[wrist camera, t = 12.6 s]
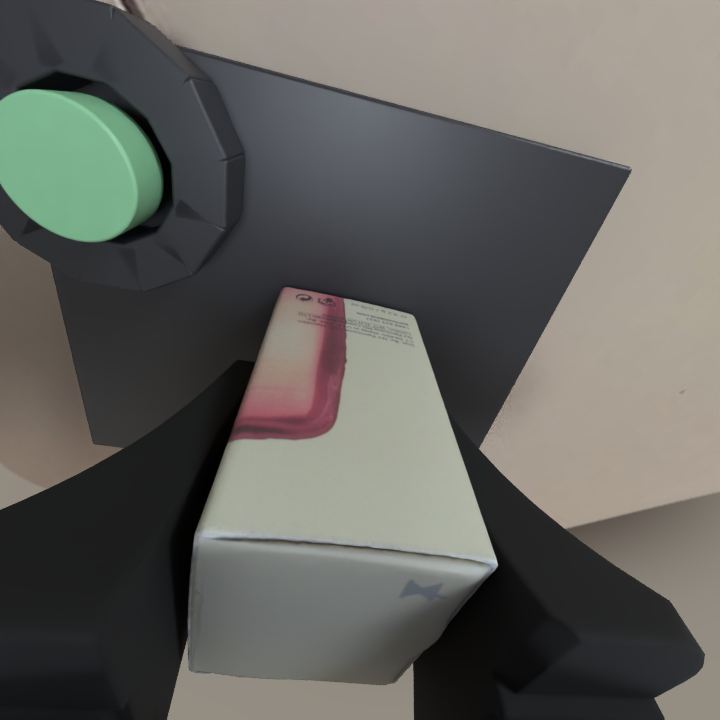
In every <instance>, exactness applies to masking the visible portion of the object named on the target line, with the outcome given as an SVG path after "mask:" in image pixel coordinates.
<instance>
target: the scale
mask: <svg viewBox="0 0 720 720" xmlns="http://www.w3.org/2000/svg"><path fill="white" fill-rule="evenodd" d="M26 89H42V90H54V91H67V92H79V93H86V94H91V95H94V96H98V97H101V98H103V99H105V100H107V101H109V102H111V103H113V104H114V105H116V106H118V107H119V108H120V109H122V110H123V111H125V112H126V113H127V114H128V115H129V116H130V117H131V118H133V119H134V120H135V121H136V122H137V124H138V125H139V126H140V127H141V128H142V129H143V131H144V132H145V133H146V135H147V136H148V137H149V139H150V141H151V142H152V144H153V146H154V148H155V150H156V152H157V154H158V157H159V160H160V162H161V166H162V170H163V178H164V190H163V196H162V199H161V203H160V205H159V207H158V209H157V210H156V212H155V213H154V214H153V215H152V216H151V217H150V218H149V219H148V220H146V221H145V222H143V223H142V224H140V225H138V226H136V227H134V228H132V229H130V230H128V231H127V232H125V233H123V234H121V235H119V236H117V237H115V238H113V239H110V240H107V241H103V242H82V241H76V240H72V239H68V238H65V237H62V236H60V235H57V234H55V233H53V232H51V231H49V230H47V229H46V228H44V227H42V226H41V225H39V224H38V223H36V222H35V221H34V220H32V219H31V218H30V217H29V216H27V215H26V214H25V213H24V212H23V211H22V210H21V209H20V208H19V207H18V206H17V205H16V204H15V203H14V202H13V201H12V199H11V198H10V197H9V196H8V194H7V193H6V192H5V190H4V189H3V187H2V186H1V184H0V224H1V226H2V227H3V228H4V229H5V230H6V232H7V233H8V234H9V235H10V236H11V238H12V239H13V240H14V241H17V242H18V243H19V244H20V245H22V246H23V247H25V248H27V249H28V250H30V251H31V252H33V253H35V254H36V255H38V256H40V257H41V258H43V259H44V260H46V261H48V262H49V263H50V264H51V268H52V272H53V277H54V281H55V285H56V289H57V293H58V298H59V302H60V306H61V310H62V315H63V319H64V323H65V327H66V331H67V336H68V340H69V344H70V348H71V352H72V357H73V361H74V365H75V369H76V374H77V378H78V382H79V386H80V390H81V395H82V399H83V403H84V407H85V411H86V416H87V420H88V424H89V428H90V432H91V437H92V441H93V443H94V444H97V445H105V446H113V447H121V448H126V447H127V446H129V445H130V444H132V443H134V442H135V441H137V440H138V439H140V438H141V437H143V436H145V435H146V434H148V433H149V432H151V431H152V430H153V429H155V428H156V427H158V426H159V425H161V424H162V423H163V422H165V421H166V420H167V419H169V418H170V417H171V416H173V415H174V414H175V413H177V412H178V411H179V410H181V409H182V408H183V407H185V406H186V405H187V404H188V403H190V402H191V401H192V400H193V399H194V398H196V397H197V396H198V395H199V394H200V393H201V392H203V391H204V390H205V389H206V388H207V387H208V386H210V385H211V384H212V383H213V382H214V381H215V380H216V379H217V378H218V377H219V376H220V375H221V374H222V373H224V372H225V371H226V370H227V369H228V368H229V367H230V366H231V365H232V364H233V363H234V362H235V361H237V360H238V359H239V360H245V361H252V362H256V360H257V357H258V354H259V351H260V348H261V345H262V342H263V339H264V337H265V334H266V331H267V328H268V325H269V322H270V319H271V316H272V313H273V310H274V307H275V305H276V302H277V299H278V296H279V294H280V291H281V290H282V289H283V288H284V287H291V288H295V289H300V290H306V291H312V292H317V293H321V294H327V295H331V296H336V297H340V298H345V299H351V300H355V301H360V302H363V303H368V304H372V305H377V306H380V307H384V308H389V309H393V310H396V311H400V312H404V313H408V314H411V315H413V316H414V317H415V319H416V322H417V325H418V328H419V331H420V334H421V337H422V341H423V344H424V346H425V349H426V352H427V355H428V358H429V361H430V364H431V367H432V370H433V373H434V376H435V379H436V382H437V385H438V388H439V391H440V394H441V397H442V399H443V402H444V406H445V409H446V410H447V411H448V412H449V414H450V415H451V416H452V417H453V419H454V420H455V421H456V422H457V424H458V425H459V426H460V427H461V429H462V430H463V431H464V432H465V433H466V435H467V436H468V437H469V438H470V439H471V441H472V442H473V443H474V444H475V445H476V446H477V447H478V449H479V447H480V445H481V444H482V442H483V440H484V438H485V436H486V435H487V433H488V431H489V429H490V427H491V426H492V424H493V422H494V420H495V418H496V416H497V415H498V413H499V411H500V409H501V407H502V406H503V404H504V402H505V400H506V398H507V396H508V395H509V393H510V391H511V389H512V387H513V386H514V384H515V382H516V380H517V378H518V376H519V375H520V373H521V371H522V369H523V367H524V366H525V364H526V362H527V360H528V358H529V356H530V355H531V353H532V351H533V349H534V347H535V346H536V344H537V342H538V340H539V338H540V336H541V335H542V333H543V331H544V329H545V327H546V326H547V324H548V322H549V320H550V318H551V317H552V315H553V313H554V311H555V309H556V307H557V306H558V304H559V302H560V300H561V298H562V297H563V295H564V293H565V291H566V289H567V287H568V286H569V284H570V282H571V280H572V278H573V277H574V275H575V273H576V271H577V269H578V267H579V266H580V264H581V262H582V260H583V258H584V257H585V255H586V253H587V251H588V249H589V247H590V246H591V244H592V242H593V240H594V238H595V237H596V235H597V233H598V231H599V229H600V227H601V226H602V224H603V222H604V220H605V218H606V217H607V215H608V213H609V211H610V209H611V208H612V206H613V204H614V202H615V200H616V198H617V197H618V195H619V193H620V191H621V189H622V188H623V186H624V184H625V182H626V180H627V178H628V177H629V175H630V173H631V170H632V169H631V168H630V167H628V166H624V165H620V164H617V163H613V162H609V161H606V160H602V159H598V158H594V157H591V156H587V155H583V154H580V153H576V152H572V151H568V150H565V149H561V148H557V147H554V146H550V145H546V144H542V143H539V142H535V141H531V140H528V139H524V138H520V137H516V136H513V135H509V134H505V133H501V132H498V131H494V130H490V129H487V128H483V127H479V126H475V125H472V124H468V123H464V122H461V121H457V120H453V119H449V118H446V117H442V116H438V115H435V114H431V113H427V112H423V111H420V110H416V109H412V108H408V107H405V106H401V105H397V104H394V103H390V102H386V101H382V100H379V99H375V98H371V97H368V96H364V95H360V94H356V93H353V92H349V91H345V90H342V89H338V88H334V87H330V86H327V85H323V84H319V83H315V82H312V81H308V80H304V79H301V78H297V77H293V76H289V75H286V74H282V73H278V72H275V71H271V70H267V69H263V68H260V67H256V66H252V65H249V64H245V63H241V62H237V61H234V60H230V59H226V58H222V57H219V56H215V55H211V54H208V53H204V52H200V51H196V50H193V49H189V48H185V47H182V46H178V45H174V44H173V43H172V42H171V41H170V40H169V39H168V38H167V37H166V36H164V35H163V34H162V33H161V32H160V31H159V30H158V29H157V28H156V27H155V26H153V25H151V24H150V23H149V22H147V21H145V20H143V19H141V18H139V17H136V16H134V15H132V14H130V13H128V12H126V11H123V10H121V9H119V8H117V7H115V6H113V5H110V4H107V3H103V2H99V1H96V0H0V101H1V100H2V99H3V98H4V97H6V96H8V95H9V94H11V93H14V92H17V91H20V90H26Z"/></svg>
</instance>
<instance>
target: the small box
mask: <svg viewBox="0 0 720 720" xmlns="http://www.w3.org/2000/svg"><path fill="white" fill-rule="evenodd" d="M497 567H498V563H497V559H496V556H495V553H494V551H493V547H492V544H491V541H490V538H489V535H488V532H487V529H486V527H485V524H484V521H483V518H482V515H481V512H480V509H479V506H478V503H477V500H476V497H475V494H474V491H473V488H472V485H471V483H470V480H469V477H468V474H467V471H466V468H465V465H464V462H463V459H462V456H461V453H460V450H459V447H458V444H457V441H456V438H455V435H454V433H453V430H452V427H451V424H450V421H449V418H448V414H447V411H446V409H445V406H444V402H443V399H442V397H441V394H440V391H439V388H438V385H437V382H436V379H435V376H434V373H433V370H432V367H431V364H430V361H429V358H428V355H427V352H426V349H425V346H424V344H423V341H422V337H421V334H420V331H419V328H418V325H417V322H416V319H415V317H414V316H413V315H411V314H408V313H404V312H400V311H396V310H393V309H389V308H384V307H380V306H377V305H372V304H368V303H363V302H360V301H355V300H351V299H345V298H340V297H336V296H331V295H327V294H321V293H317V292H312V291H306V290H300V289H295V288H291V287H284V288H283V289H282V290H281V291H280V294H279V296H278V299H277V302H276V305H275V307H274V310H273V313H272V316H271V319H270V322H269V325H268V328H267V331H266V334H265V337H264V339H263V342H262V345H261V348H260V351H259V354H258V357H257V360H256V363H255V366H254V369H253V371H252V374H251V377H250V380H249V383H248V386H247V388H246V391H245V394H244V397H243V400H242V402H241V405H240V408H239V411H238V414H237V417H236V419H235V422H234V425H233V429H232V432H231V434H230V437H229V440H228V442H227V445H226V448H225V451H224V454H223V457H222V460H221V463H220V466H219V468H218V471H217V474H216V477H215V480H214V483H213V485H212V488H211V491H210V493H209V496H208V499H207V502H206V504H205V507H204V510H203V512H202V515H201V518H200V521H199V523H198V526H197V529H196V532H195V535H194V542H193V552H192V559H191V569H190V581H189V597H188V619H187V623H188V660H189V670H190V671H191V672H194V673H215V674H221V675H230V676H236V677H249V678H260V679H292V680H315V681H330V682H346V683H359V684H371V685H387V684H391V683H395V682H396V681H397V680H398V679H399V678H400V677H401V676H402V675H403V673H404V672H405V671H406V670H407V669H408V668H409V667H410V666H411V664H412V663H413V662H414V661H415V660H416V659H417V658H418V657H419V656H420V654H422V652H423V651H424V650H426V649H427V648H429V647H430V646H431V645H432V644H434V643H435V642H436V641H437V640H438V639H439V638H440V636H441V635H442V633H443V632H444V630H445V629H446V627H447V626H448V624H449V622H450V621H451V620H452V618H453V617H454V616H455V615H456V614H457V613H458V612H459V610H460V609H461V607H462V606H463V605H464V604H465V603H466V602H467V600H468V599H469V598H470V597H471V596H472V595H473V594H474V593H475V592H476V590H477V589H478V588H479V587H480V585H481V584H482V583H483V582H484V581H485V580H486V579H487V578H488V577H489V576H490V575H491V574H492V572H494V571H495V570H496V568H497Z"/></svg>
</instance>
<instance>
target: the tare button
mask: <svg viewBox="0 0 720 720" xmlns="http://www.w3.org/2000/svg"><path fill="white" fill-rule="evenodd" d="M0 184H1V186H2V187H3V189H4V190H5V192H6V193H7V194H8V196H9V197H10V198H11V199H12V201H13V202H14V203H15V204H16V205H17V206H18V207H19V208H20V209H21V210H22V211H23V212H24V213H25V214H26V215H27V216H29V217H30V218H31V219H32V220H34V221H35V222H36V223H38V224H39V225H41V226H42V227H44V228H46V229H47V230H49V231H51V232H53V233H55V234H57V235H60V236H62V237H65V238H68V239H72V240H76V241H82V242H103V241H107V240H110V239H113V238H115V237H117V236H119V235H121V234H123V233H125V232H127V231H128V230H130V229H132V228H134V227H136V226H138V225H140V224H142V223H143V222H145V221H146V220H148V219H149V218H150V217H151V216H152V215H153V214H154V213H155V212H156V210H157V209H158V207H159V205H160V203H161V199H162V196H163V190H164V178H163V170H162V166H161V162H160V160H159V157H158V154H157V152H156V150H155V148H154V146H153V144H152V142H151V141H150V139H149V137H148V136H147V135H146V133H145V132H144V131H143V129H142V128H141V127H140V126H139V125H138V124H137V122H136V121H135V120H134V119H133V118H131V117H130V116H129V115H128V114H127V113H126V112H125V111H123V110H122V109H120V108H119V107H118V106H116V105H114V104H113V103H111V102H109V101H107V100H105V99H103V98H101V97H98V96H94V95H91V94H86V93H79V92H67V91H54V90H42V89H26V90H20V91H17V92H14V93H11V94H9V95H8V96H6V97H4V98H3V99H2V100H1V101H0Z"/></svg>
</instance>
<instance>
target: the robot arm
mask: <svg viewBox="0 0 720 720" xmlns="http://www.w3.org/2000/svg"><path fill="white" fill-rule="evenodd" d="M255 363H256V362H252V361H245V360H239V359H238V360H237V361H235V362H234V363H233V364H232V365H231V366H230V367H229V368H228V369H227V370H226V371H225V372H224V373H222V374H221V375H220V376H219V377H218V378H217V379H216V380H215V381H214V382H213V383H212V384H211V385H210V386H208V387H207V388H206V389H205V390H204V391H203V392H201V393H200V394H199V395H198V396H197V397H196V398H194V399H193V400H192V401H191V402H190V403H188V404H187V405H186V406H185V407H183V408H182V409H181V410H179V411H178V412H177V413H175V414H174V415H173V416H171V417H170V418H169V419H167V420H166V421H165V422H163V423H162V424H161V425H159V426H158V427H156V428H155V429H153V430H152V431H151V432H149V433H148V434H146V435H145V436H143V437H141V438H140V439H138V440H137V441H135V442H134V443H132V444H130V445H129V446H127V447H126V448H124V449H122V450H120V451H119V452H117V453H115V454H114V455H112V456H110V457H108V458H107V459H105V460H103V461H101V462H99V463H98V464H96V465H94V466H92V467H90V468H88V469H87V470H85V471H83V472H81V473H79V474H77V475H75V476H73V477H71V478H69V479H67V480H65V481H63V482H61V483H59V484H57V485H55V486H53V487H51V488H48V489H46V490H44V491H42V492H40V493H38V494H36V495H33V496H31V497H29V498H27V499H24V500H22V501H20V502H18V503H16V504H13V505H11V506H8V507H6V508H4V509H2V510H0V720H167V716H168V712H169V708H170V704H171V700H172V696H173V692H174V688H175V684H176V680H177V676H178V672H179V668H180V664H181V661H182V657H183V653H184V649H185V645H186V641H187V638H188V623H187V619H188V597H189V581H190V569H191V559H192V552H193V542H194V535H195V532H196V529H197V526H198V523H199V521H200V518H201V515H202V512H203V510H204V507H205V504H206V502H207V499H208V496H209V493H210V491H211V488H212V485H213V483H214V480H215V477H216V474H217V471H218V468H219V466H220V463H221V460H222V457H223V454H224V451H225V448H226V445H227V442H228V440H229V437H230V434H231V432H232V429H233V425H234V422H235V419H236V417H237V414H238V411H239V408H240V405H241V402H242V400H243V397H244V394H245V391H246V388H247V386H248V383H249V380H250V377H251V374H252V371H253V369H254V366H255ZM446 411H447V410H446ZM447 414H448V418H449V421H450V424H451V427H452V430H453V433H454V435H455V438H456V441H457V444H458V447H459V450H460V453H461V456H462V459H463V462H464V465H465V468H466V471H467V474H468V477H469V480H470V483H471V485H472V488H473V491H474V494H475V497H476V500H477V503H478V506H479V509H480V512H481V515H482V518H483V521H484V524H485V527H486V529H487V532H488V535H489V538H490V541H491V544H492V547H493V551H494V553H495V556H496V559H497V563H498V567H497V568H496V570H495V571H494V572H492V574H491V575H490V576H489V577H488V578H487V579H486V580H485V581H484V582H483V583H482V584H481V585H480V587H479V588H478V589H477V590H476V592H475V593H474V594H473V595H472V596H471V597H470V598H469V599H468V600H467V602H466V603H465V604H464V605H463V606H462V607H461V609H460V610H459V612H458V613H457V614H456V615H455V616H454V617H453V618H452V620H451V621H450V622H449V624H448V626H447V627H446V629H445V630H444V632H443V633H442V635H441V636H440V638H439V639H438V640H437V641H436V642H435V643H434V644H432V645H431V646H430V647H429V648H427V649H426V650H424V651H423V652H422V654H420V656H419V657H418V658H417V659H416V660H415V661H414V662H413V671H414V720H664V716H663V714H662V713H661V711H660V709H659V707H658V705H657V703H656V701H655V699H654V698H655V697H657V696H659V695H661V694H662V693H664V692H666V691H668V690H670V689H672V688H674V687H675V686H677V685H679V684H681V683H683V682H685V681H687V680H688V679H690V678H691V677H693V676H694V675H696V674H697V673H698V672H699V671H700V669H701V668H702V667H703V664H704V656H705V654H704V652H703V651H702V649H701V648H700V646H699V645H698V643H697V642H696V640H695V638H694V637H693V636H692V634H691V632H690V631H689V629H688V628H687V626H686V625H685V623H684V622H683V620H682V619H681V617H680V616H679V614H678V613H677V611H676V609H675V608H674V607H673V605H672V603H671V602H670V601H669V600H667V599H666V598H664V597H662V596H661V595H660V594H658V593H656V592H655V591H653V590H652V589H650V588H649V587H647V586H645V585H644V584H642V583H641V582H639V581H638V580H636V579H635V578H633V577H632V576H630V575H628V574H627V573H625V572H624V571H622V570H621V569H619V568H618V567H616V566H615V565H613V564H612V563H610V562H609V561H607V560H606V559H605V558H603V557H602V556H601V555H599V554H598V553H596V552H595V551H594V550H592V549H591V548H589V547H588V546H587V545H585V544H584V543H582V542H581V541H580V540H578V539H577V538H576V537H574V536H573V535H572V534H570V533H569V532H568V531H567V530H565V529H564V528H563V527H562V526H560V525H559V524H558V523H557V522H555V521H554V520H553V519H552V518H551V517H549V516H548V515H547V514H546V513H544V512H543V511H542V510H541V509H540V508H538V507H537V506H536V505H535V504H534V503H533V502H532V501H530V500H529V499H528V498H527V497H526V496H525V495H524V494H523V493H522V492H521V491H520V490H518V489H517V488H516V487H515V486H514V485H513V484H512V483H511V482H510V481H509V480H508V479H507V478H506V477H505V476H504V475H503V474H502V473H501V472H500V471H499V470H498V469H497V468H496V467H495V466H494V465H493V464H492V463H491V462H490V461H489V460H488V458H487V457H486V456H485V455H484V454H483V453H482V452H481V451H480V450H479V449H478V447H477V446H476V445H475V444H474V443H473V442H472V441H471V439H470V438H469V437H468V436H467V435H466V433H465V432H464V431H463V430H462V429H461V427H460V426H459V425H458V424H457V422H456V421H455V420H454V419H453V417H452V416H451V415H450V414H449V412H448V411H447Z"/></svg>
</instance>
